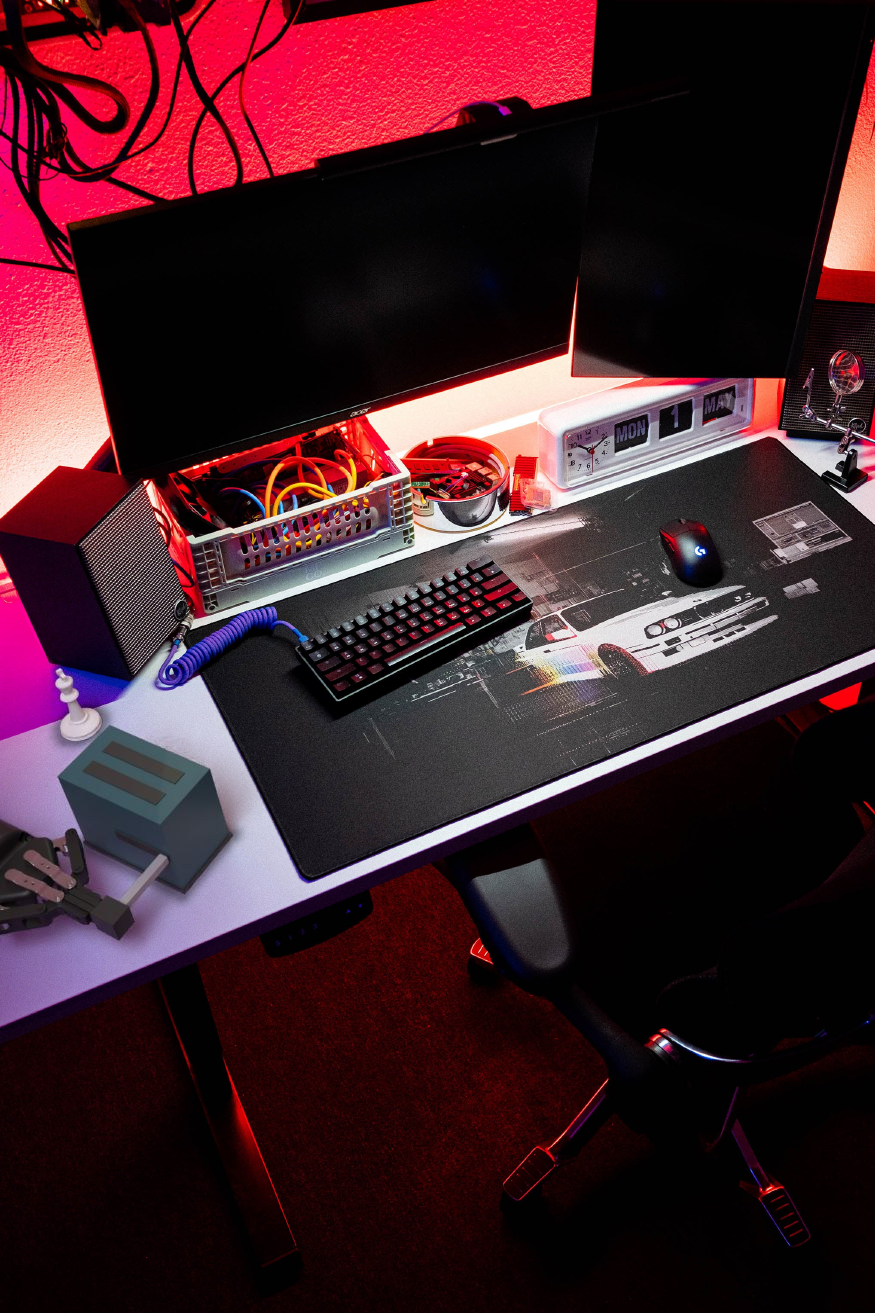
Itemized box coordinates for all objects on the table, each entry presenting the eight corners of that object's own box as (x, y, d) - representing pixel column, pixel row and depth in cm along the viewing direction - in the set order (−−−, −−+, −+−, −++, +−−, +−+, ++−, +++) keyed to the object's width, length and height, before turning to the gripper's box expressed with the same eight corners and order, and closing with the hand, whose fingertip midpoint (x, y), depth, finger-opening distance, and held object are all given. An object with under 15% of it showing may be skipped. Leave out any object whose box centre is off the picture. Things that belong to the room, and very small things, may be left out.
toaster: (184, 894, 122) (160, 826, 114) (83, 845, 127) (53, 776, 119) (233, 836, 128) (212, 767, 120) (134, 790, 133) (109, 722, 125)
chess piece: (74, 747, 138) (51, 691, 132) (53, 727, 141) (29, 671, 134) (109, 724, 141) (89, 668, 134) (88, 705, 143) (67, 649, 137)
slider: (119, 941, 113) (112, 925, 111) (96, 929, 114) (89, 913, 112) (178, 871, 119) (173, 855, 117) (156, 860, 120) (150, 844, 118)
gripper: (-89, 877, 113) (40, 947, 107) (11, 781, 122) (136, 841, 116) (-63, 919, 118) (62, 989, 112) (31, 824, 127) (152, 883, 121)
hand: (99, 913), depth 114 cm, fingers closed
